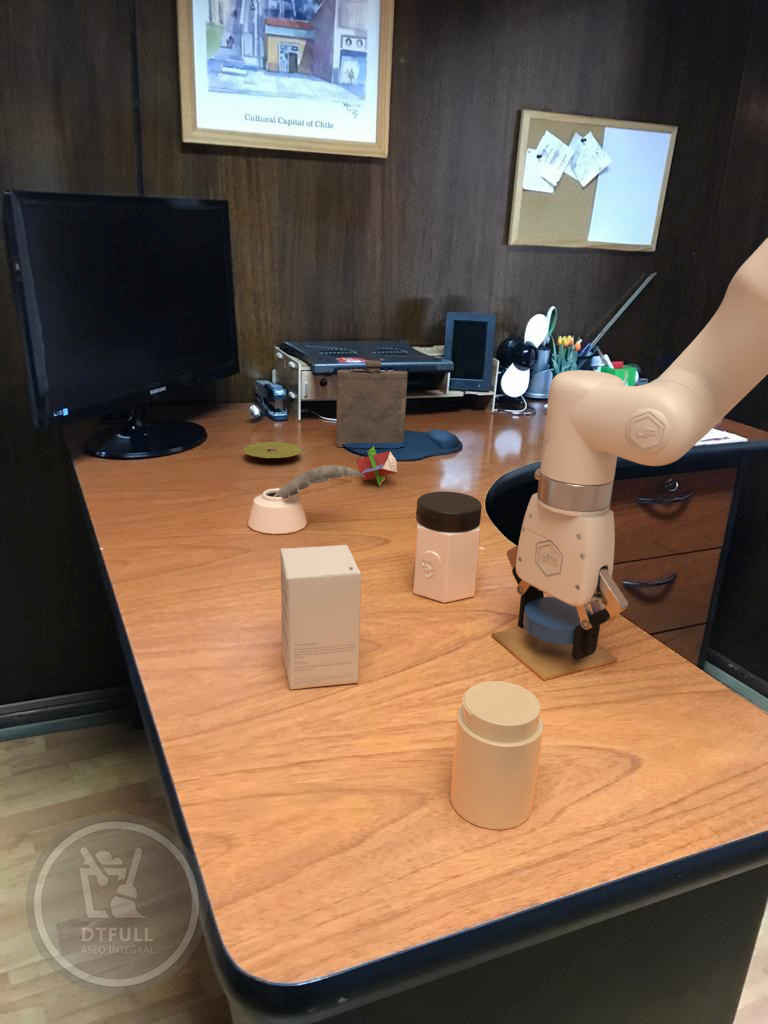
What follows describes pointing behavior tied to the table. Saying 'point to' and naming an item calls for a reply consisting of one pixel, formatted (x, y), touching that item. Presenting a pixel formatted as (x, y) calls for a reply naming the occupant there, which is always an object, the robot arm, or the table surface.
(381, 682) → the table surface
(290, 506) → the inkwell
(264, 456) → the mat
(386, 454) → the geometric puzzle
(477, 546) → the jar
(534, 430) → the table surface
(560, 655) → the coaster
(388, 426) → the flask
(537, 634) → the lid
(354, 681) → the white packaging box
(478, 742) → the jam jar
